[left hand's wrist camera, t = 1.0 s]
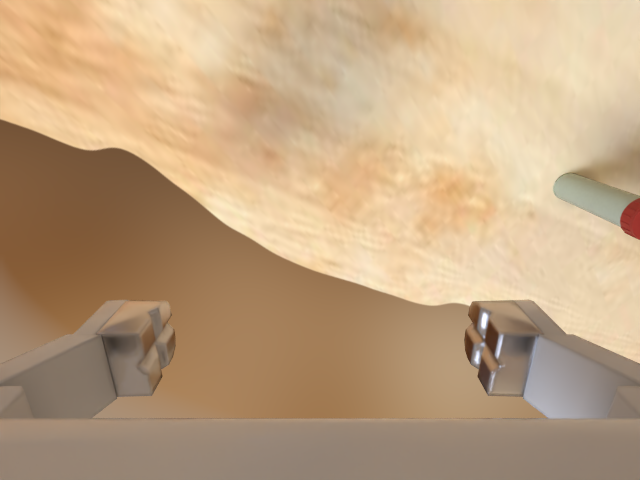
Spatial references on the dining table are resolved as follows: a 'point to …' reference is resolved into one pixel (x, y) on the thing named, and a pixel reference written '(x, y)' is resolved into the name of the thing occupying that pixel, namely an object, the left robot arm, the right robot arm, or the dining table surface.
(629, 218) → the lid
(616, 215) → the green cylinder
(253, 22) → the dining table surface
